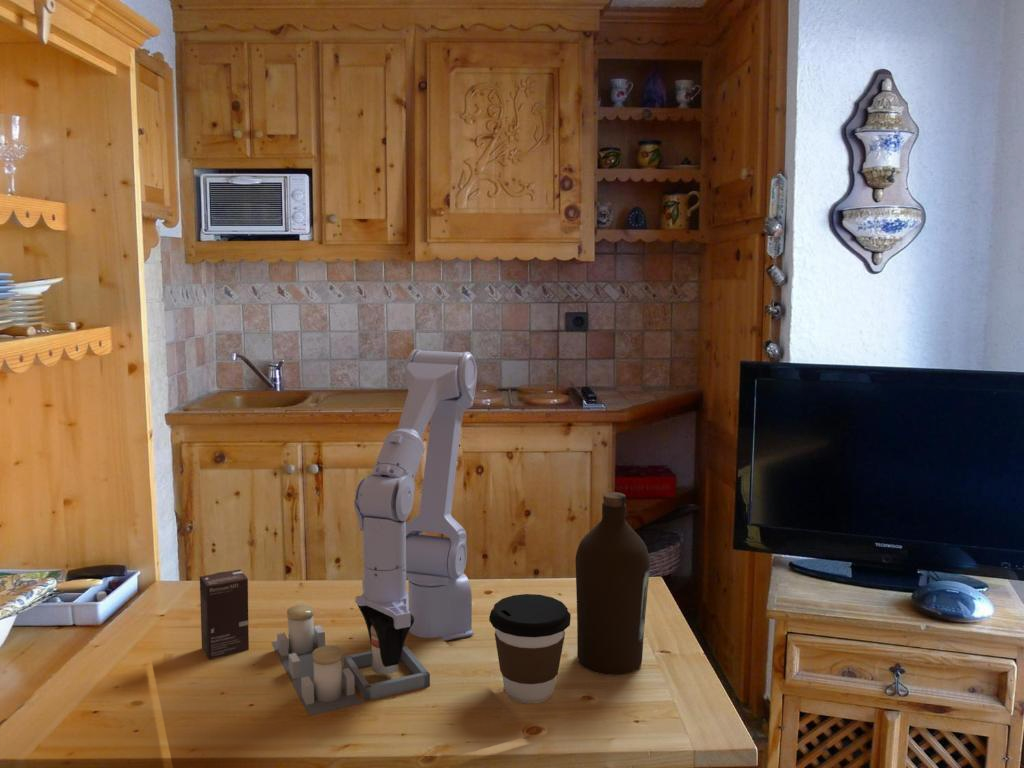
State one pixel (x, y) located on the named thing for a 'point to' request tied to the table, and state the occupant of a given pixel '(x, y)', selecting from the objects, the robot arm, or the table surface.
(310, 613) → the beige capped white cylinder
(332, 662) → the cylinder
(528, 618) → the coffee cup
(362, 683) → the tray
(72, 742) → the table surface
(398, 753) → the table surface
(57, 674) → the table surface
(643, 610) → the olive oil
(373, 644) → the cylinder
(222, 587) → the box
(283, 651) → the holder
